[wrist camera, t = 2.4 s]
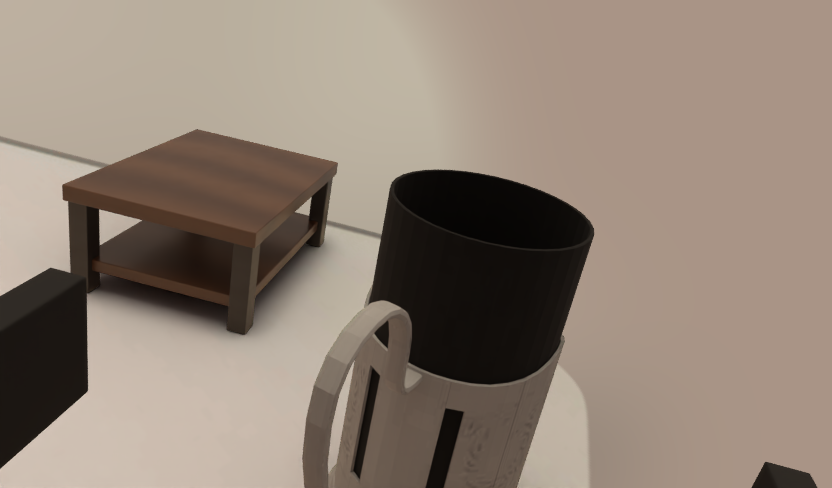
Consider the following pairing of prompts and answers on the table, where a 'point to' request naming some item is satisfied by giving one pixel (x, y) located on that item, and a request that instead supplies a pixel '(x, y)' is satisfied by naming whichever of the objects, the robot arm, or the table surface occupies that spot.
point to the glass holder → (450, 337)
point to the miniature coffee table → (201, 218)
